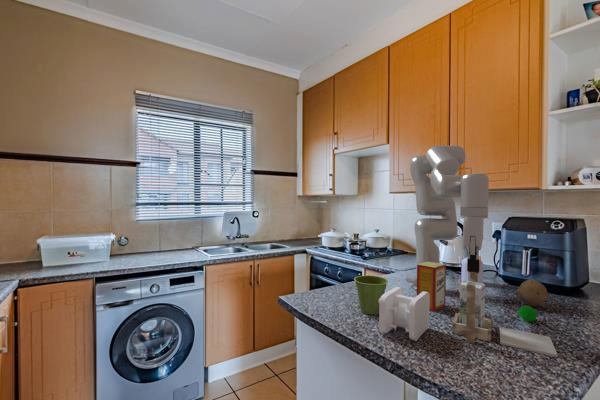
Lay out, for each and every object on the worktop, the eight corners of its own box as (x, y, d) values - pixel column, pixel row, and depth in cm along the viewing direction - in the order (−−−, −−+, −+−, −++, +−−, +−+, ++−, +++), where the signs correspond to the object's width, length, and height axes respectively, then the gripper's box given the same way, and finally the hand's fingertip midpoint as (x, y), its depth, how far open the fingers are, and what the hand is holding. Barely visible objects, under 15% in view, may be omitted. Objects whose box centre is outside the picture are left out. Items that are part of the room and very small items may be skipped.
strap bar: (468, 272, 95) (468, 263, 95) (471, 262, 110) (471, 254, 110) (479, 273, 93) (479, 264, 93) (480, 264, 109) (480, 255, 109)
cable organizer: (414, 346, 79) (414, 303, 79) (377, 335, 86) (377, 295, 86) (430, 328, 91) (430, 290, 91) (396, 319, 98) (396, 284, 98)
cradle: (450, 338, 84) (451, 282, 85) (457, 317, 100) (457, 270, 100) (490, 347, 79) (491, 288, 79) (491, 324, 94) (491, 274, 94)
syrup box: (485, 331, 90) (485, 283, 90) (480, 337, 85) (481, 287, 85) (464, 325, 94) (464, 279, 94) (458, 331, 89) (459, 283, 89)
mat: (500, 344, 81) (500, 341, 81) (499, 328, 91) (499, 326, 91) (557, 357, 75) (557, 354, 75) (549, 338, 85) (549, 336, 85)
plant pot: (358, 303, 113) (358, 273, 113) (390, 308, 107) (390, 277, 107) (349, 313, 102) (349, 281, 102) (384, 320, 97) (385, 286, 97)
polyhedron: (526, 317, 101) (526, 303, 101) (541, 323, 96) (541, 308, 96) (514, 318, 100) (514, 304, 100) (528, 324, 95) (528, 309, 95)
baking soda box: (428, 301, 116) (428, 260, 116) (445, 305, 111) (445, 263, 111) (416, 306, 110) (417, 263, 110) (434, 311, 105) (434, 266, 105)
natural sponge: (554, 312, 106) (554, 284, 106) (526, 309, 108) (526, 282, 108) (539, 303, 115) (539, 277, 115) (513, 301, 117) (513, 276, 117)
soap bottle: (487, 285, 139) (487, 233, 139) (467, 285, 139) (468, 233, 139) (476, 280, 147) (476, 231, 148) (457, 280, 148) (458, 231, 148)
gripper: (462, 212, 101) (461, 265, 101) (458, 213, 88) (457, 274, 88) (488, 212, 97) (487, 268, 97) (487, 214, 84) (486, 278, 84)
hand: (473, 271), depth 93 cm, fingers closed
